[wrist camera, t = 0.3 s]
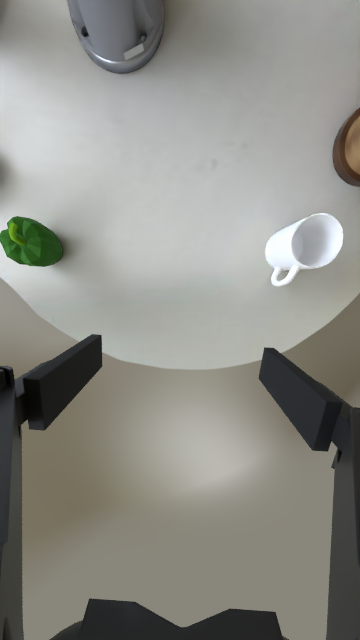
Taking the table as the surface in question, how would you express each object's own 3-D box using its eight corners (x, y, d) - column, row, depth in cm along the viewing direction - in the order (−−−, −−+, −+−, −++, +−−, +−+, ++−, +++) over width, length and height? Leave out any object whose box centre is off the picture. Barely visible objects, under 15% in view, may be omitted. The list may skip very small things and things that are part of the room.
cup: (311, 239, 39) (354, 226, 29) (281, 292, 41) (312, 297, 32) (276, 222, 38) (308, 203, 28) (248, 277, 41) (269, 277, 31)
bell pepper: (55, 276, 41) (15, 276, 32) (24, 249, 40) (-27, 239, 30) (78, 248, 40) (44, 238, 30) (47, 218, 39) (1, 198, 29)
